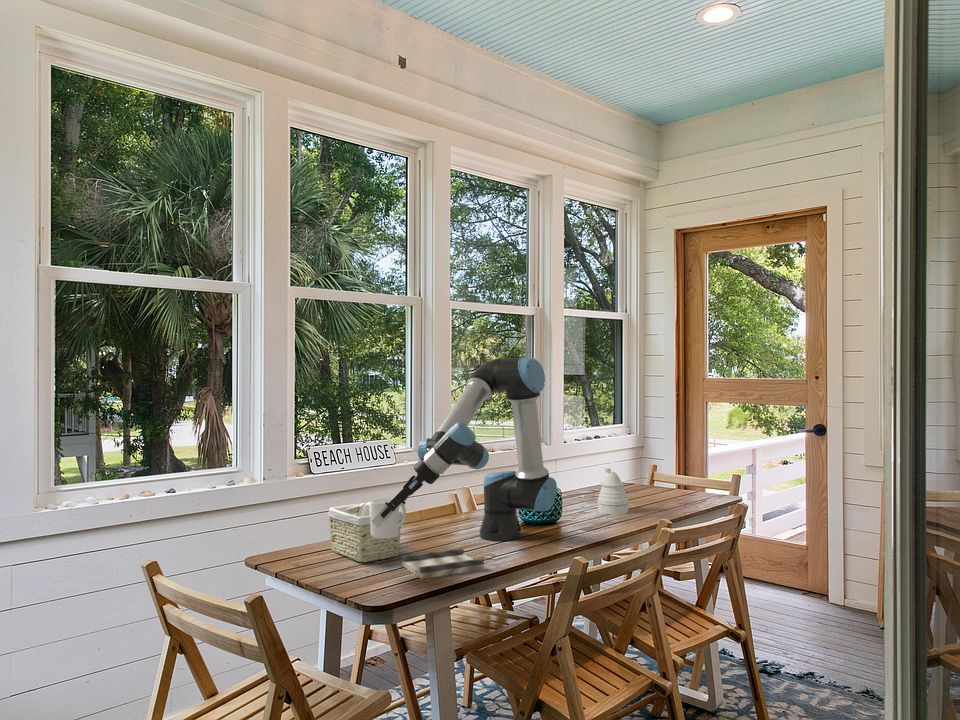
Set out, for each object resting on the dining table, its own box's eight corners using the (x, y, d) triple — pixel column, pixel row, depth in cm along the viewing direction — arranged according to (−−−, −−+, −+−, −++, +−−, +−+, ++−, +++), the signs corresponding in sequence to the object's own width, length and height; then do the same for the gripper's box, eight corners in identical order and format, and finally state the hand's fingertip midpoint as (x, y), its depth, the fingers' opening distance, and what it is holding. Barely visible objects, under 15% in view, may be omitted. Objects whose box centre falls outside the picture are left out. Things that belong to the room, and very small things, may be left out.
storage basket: (326, 550, 232) (326, 506, 232) (369, 543, 241) (369, 501, 242) (359, 565, 213) (358, 517, 213) (404, 557, 222) (404, 511, 223)
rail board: (461, 557, 221) (461, 548, 221) (484, 569, 206) (484, 559, 206) (402, 565, 212) (402, 555, 212) (421, 578, 197) (421, 568, 197)
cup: (365, 535, 202) (364, 501, 203) (397, 528, 211) (397, 495, 211) (382, 540, 197) (381, 504, 197) (414, 532, 205) (414, 498, 205)
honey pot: (594, 513, 291) (594, 470, 292) (601, 507, 303) (600, 466, 303) (625, 515, 286) (624, 471, 287) (631, 509, 298) (630, 467, 299)
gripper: (428, 452, 214) (379, 504, 215) (415, 461, 191) (359, 519, 193) (446, 470, 213) (396, 521, 214) (434, 481, 191) (378, 538, 192)
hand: (379, 520), depth 203 cm, fingers closed on cup, 10 cm apart
